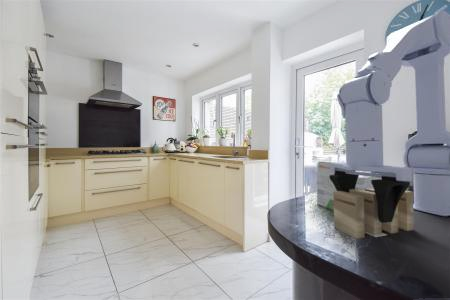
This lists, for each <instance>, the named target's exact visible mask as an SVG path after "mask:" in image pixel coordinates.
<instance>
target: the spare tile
mask: <svg viewBox="0 0 450 300" xmlns="http://www.w3.org/2000/svg"><path fill="white" fill-rule="evenodd" d="M349 191H350V193H352V194H356V195H361V196H364V230H365V231H366V232H368V233H371V234H373V235H379V234H382V233H383V232H382V231H383V230H382V222H379V218H378V207H377V198H376V194H375V193H374V192H369V191H364V190H359V189H349Z"/></svg>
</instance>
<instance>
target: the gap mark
mask: <svg viewBox="0 0 450 300" xmlns="http://www.w3.org/2000/svg"><path fill="white" fill-rule="evenodd" d="M365 234H367V235H369V236H371V237H374V238H378V237H379V238H380V237H385V236H387V233H384V232H382V234H379V235H373V234H371V233H368V232H366V231H365Z"/></svg>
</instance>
